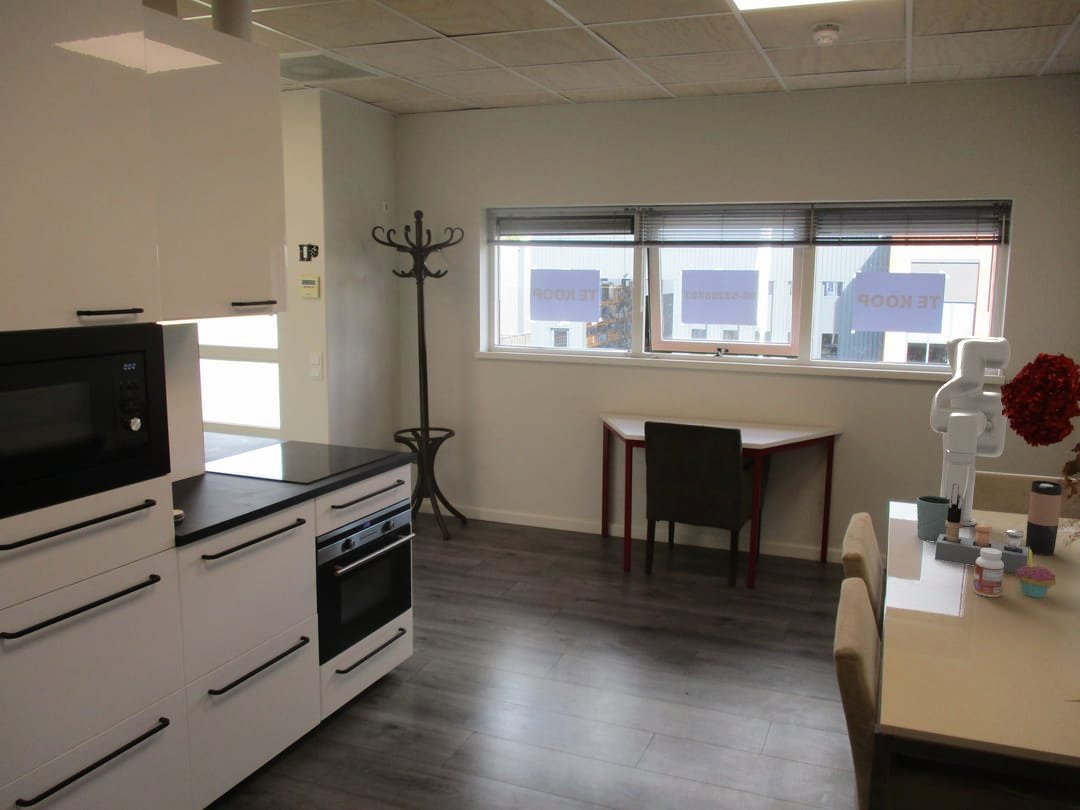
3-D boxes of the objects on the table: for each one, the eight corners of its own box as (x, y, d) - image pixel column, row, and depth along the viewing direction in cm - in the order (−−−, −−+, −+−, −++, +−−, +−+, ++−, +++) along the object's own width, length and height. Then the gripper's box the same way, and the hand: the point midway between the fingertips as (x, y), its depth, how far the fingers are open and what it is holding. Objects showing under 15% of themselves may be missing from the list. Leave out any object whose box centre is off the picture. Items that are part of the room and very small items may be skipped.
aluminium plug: (1004, 549, 230) (1006, 528, 229) (1021, 551, 228) (1023, 530, 227) (1004, 553, 227) (1006, 531, 226) (1021, 555, 225) (1023, 534, 224)
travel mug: (1046, 547, 245) (1054, 481, 242) (1060, 556, 238) (1068, 487, 235) (1019, 546, 246) (1026, 480, 243) (1031, 554, 239) (1039, 486, 236)
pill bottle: (972, 587, 213) (977, 545, 211) (1000, 591, 210) (1004, 548, 208) (972, 595, 207) (977, 552, 206) (1001, 599, 204) (1005, 556, 203)
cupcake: (1014, 596, 207) (1019, 549, 205) (1013, 585, 214) (1018, 540, 212) (1054, 603, 203) (1060, 555, 201) (1052, 591, 210) (1057, 545, 209)
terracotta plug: (974, 544, 234) (976, 523, 233) (990, 546, 232) (992, 525, 231) (973, 548, 230) (975, 526, 229) (989, 550, 228) (991, 529, 227)
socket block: (938, 550, 241) (939, 533, 240) (1026, 564, 230) (1028, 547, 229) (934, 559, 233) (936, 541, 233) (1025, 574, 222) (1027, 556, 222)
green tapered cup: (956, 543, 248) (960, 504, 246) (922, 542, 248) (925, 503, 246) (941, 533, 258) (944, 495, 256) (908, 532, 258) (911, 494, 256)
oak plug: (944, 539, 238) (946, 519, 237) (960, 542, 236) (962, 521, 235) (943, 543, 234) (945, 522, 233) (958, 545, 232) (961, 524, 231)
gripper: (947, 451, 239) (941, 513, 242) (942, 460, 227) (935, 525, 229) (977, 454, 236) (970, 517, 238) (973, 463, 223) (966, 530, 226)
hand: (953, 521), depth 234 cm, fingers closed
